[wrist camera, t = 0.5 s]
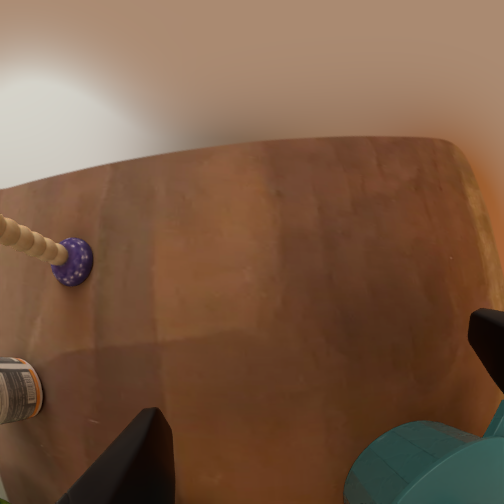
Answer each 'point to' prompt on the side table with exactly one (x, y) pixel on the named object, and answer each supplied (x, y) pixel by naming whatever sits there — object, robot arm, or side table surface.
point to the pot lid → (461, 476)
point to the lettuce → (3, 501)
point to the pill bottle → (18, 390)
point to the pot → (406, 457)
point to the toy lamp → (50, 251)
